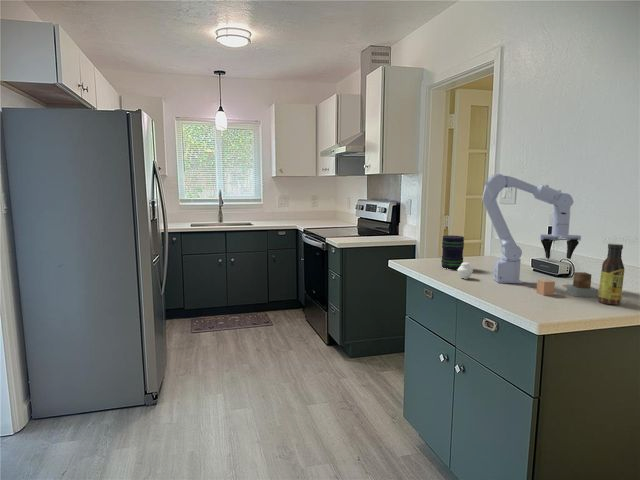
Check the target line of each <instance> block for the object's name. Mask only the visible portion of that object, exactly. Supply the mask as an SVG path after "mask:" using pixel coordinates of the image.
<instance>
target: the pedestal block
mask: <svg viewBox="0 0 640 480" xmlns="http://www.w3.org/2000/svg"><path fill="white" fill-rule="evenodd" d="M566 285H567V288H566V292H567V293H569V294H570V295H573V296H575V297H583V298H586V297H589V298H590V297H591V298H592V297H593V298H598V295H599V288H595V287H593V286H591V288H577V287H575V286H573V284H570V283H569V284H566Z"/></svg>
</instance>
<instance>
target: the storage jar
mask: <svg viewBox="0 0 640 480" xmlns="http://www.w3.org/2000/svg"><path fill="white" fill-rule="evenodd" d="M441 241H442V243H441V244H442V246H441V247H442V254H441V255H442V256H441V260H440V261H441V266H442V267H443V268H448V269H458V268H459V267H460V266H461V264H462V263H464V247H465V236H463V235H442V240H441ZM443 268H442V269H443Z"/></svg>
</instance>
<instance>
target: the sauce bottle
mask: <svg viewBox="0 0 640 480" xmlns="http://www.w3.org/2000/svg"><path fill="white" fill-rule="evenodd" d="M623 249H624V246H623V244H621V243H607V257H606V258H605V259H604V260H603V262H602V266H601V272H600V277H599V278H600V281H599V287H598V301H599V303H601V304H606V305H613V306H615V305H620V303H621V300H622V296H623V295H622V294H623V285H624V276H625V267H624V262H623V259H622V253H623V251H622V250H623Z"/></svg>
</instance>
